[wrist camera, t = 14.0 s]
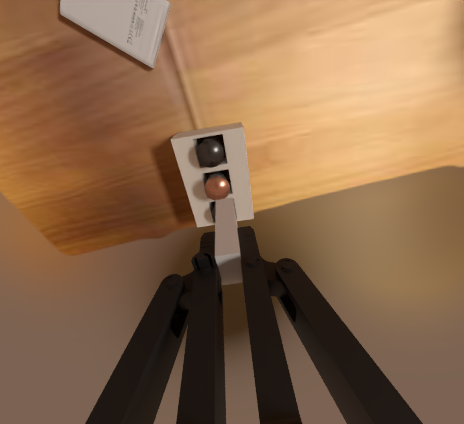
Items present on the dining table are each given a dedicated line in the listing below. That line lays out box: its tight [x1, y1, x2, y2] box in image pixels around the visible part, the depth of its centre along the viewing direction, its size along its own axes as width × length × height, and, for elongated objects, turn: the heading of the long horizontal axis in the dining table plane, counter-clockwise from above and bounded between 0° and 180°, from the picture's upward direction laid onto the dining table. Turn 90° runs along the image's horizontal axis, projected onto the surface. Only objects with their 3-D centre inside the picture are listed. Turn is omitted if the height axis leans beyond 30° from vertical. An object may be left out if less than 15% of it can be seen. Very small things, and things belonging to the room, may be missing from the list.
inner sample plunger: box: [197, 136, 224, 168], centre depth 34 cm, size 4×4×6 cm
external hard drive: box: [60, 0, 171, 69], centre depth 27 cm, size 2×8×12 cm
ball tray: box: [171, 122, 254, 227], centre depth 39 cm, size 18×12×5 cm, turn 9°
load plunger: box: [205, 170, 230, 201], centre depth 37 cm, size 4×4×6 cm
